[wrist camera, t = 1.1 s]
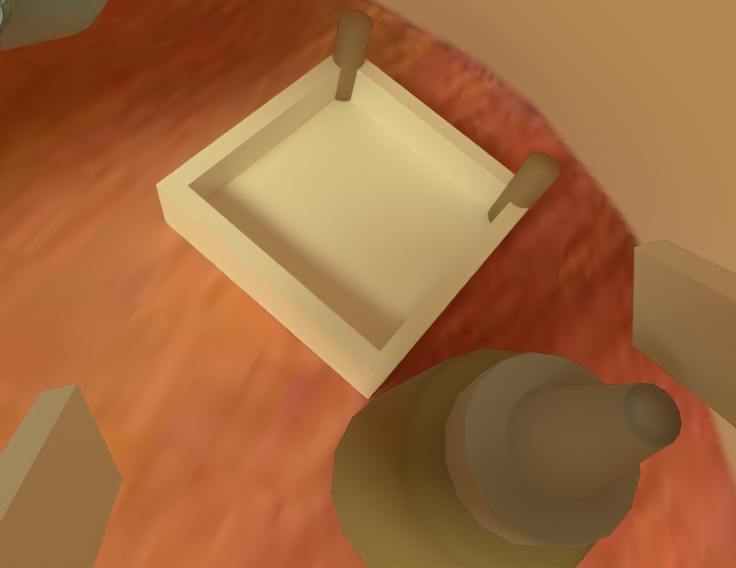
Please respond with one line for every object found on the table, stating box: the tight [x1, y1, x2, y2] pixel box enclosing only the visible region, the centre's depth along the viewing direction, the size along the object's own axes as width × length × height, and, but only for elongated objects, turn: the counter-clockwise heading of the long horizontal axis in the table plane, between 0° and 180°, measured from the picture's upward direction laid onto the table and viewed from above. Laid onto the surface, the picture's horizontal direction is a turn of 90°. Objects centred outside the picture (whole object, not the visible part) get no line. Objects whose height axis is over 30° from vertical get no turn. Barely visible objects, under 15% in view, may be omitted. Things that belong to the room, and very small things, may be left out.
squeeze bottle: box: [331, 347, 681, 568], centre depth 18 cm, size 8×8×18 cm
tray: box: [156, 10, 560, 399], centre depth 29 cm, size 14×14×6 cm
